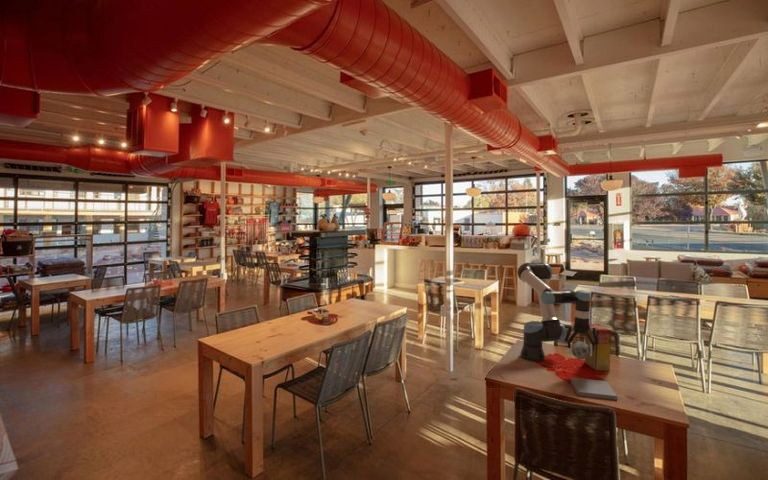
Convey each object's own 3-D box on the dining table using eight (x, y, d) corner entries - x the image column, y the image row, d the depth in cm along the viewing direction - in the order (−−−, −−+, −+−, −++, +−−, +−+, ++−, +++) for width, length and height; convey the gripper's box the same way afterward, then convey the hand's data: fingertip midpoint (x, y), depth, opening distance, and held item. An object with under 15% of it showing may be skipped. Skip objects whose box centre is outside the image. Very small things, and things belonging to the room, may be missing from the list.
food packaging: (610, 370, 225) (612, 330, 223) (595, 370, 225) (596, 330, 224) (598, 362, 238) (599, 323, 237) (583, 362, 238) (584, 323, 237)
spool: (590, 357, 209) (582, 339, 213) (572, 361, 214) (566, 344, 218) (595, 356, 219) (588, 339, 223) (579, 360, 224) (572, 343, 228)
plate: (578, 395, 194) (578, 391, 194) (570, 380, 211) (570, 377, 211) (617, 399, 189) (617, 396, 189) (606, 384, 206) (606, 381, 206)
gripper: (562, 317, 216) (560, 354, 218) (605, 320, 210) (603, 358, 212) (559, 314, 223) (558, 350, 225) (601, 317, 217) (600, 354, 219)
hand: (580, 354), depth 219 cm, fingers closed on spool, 10 cm apart
